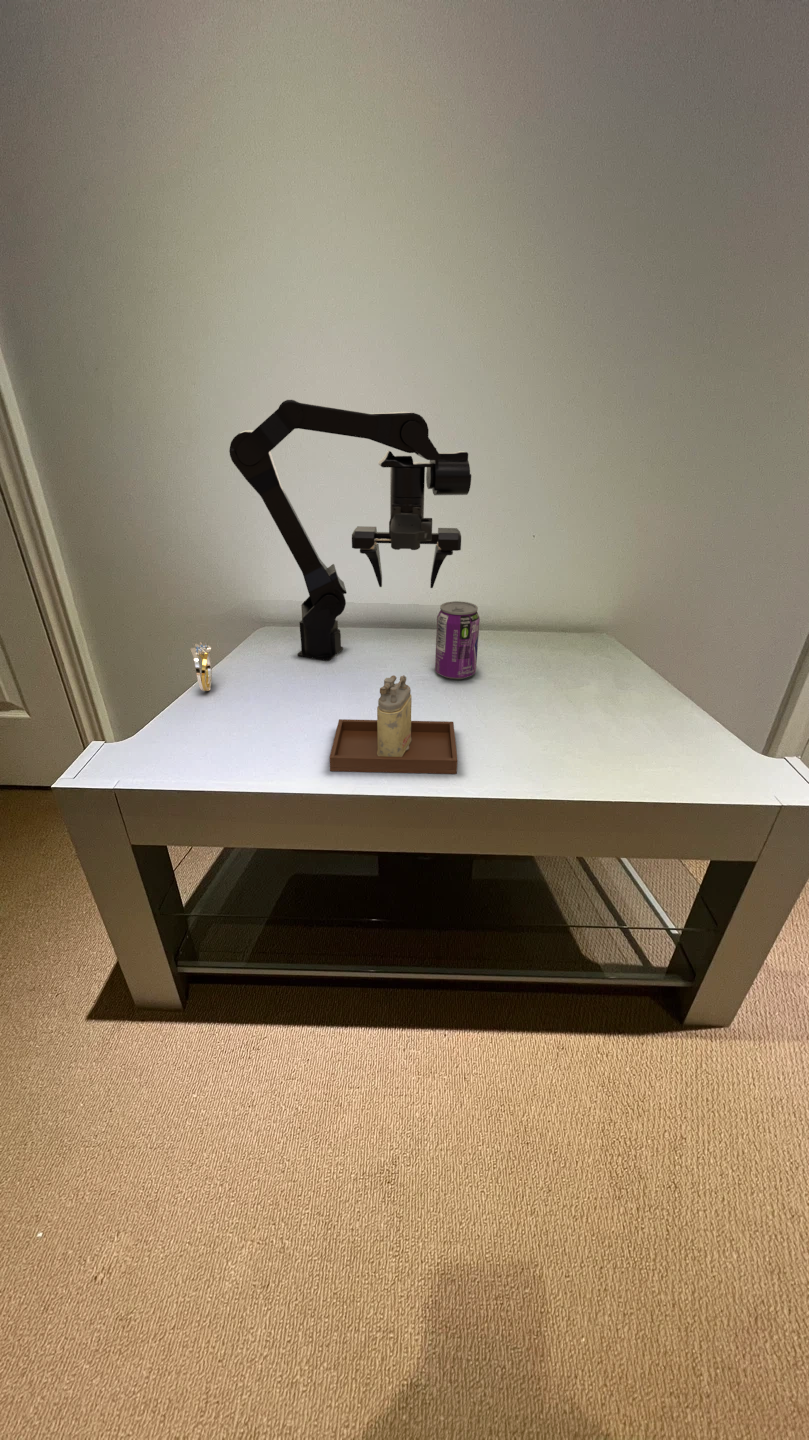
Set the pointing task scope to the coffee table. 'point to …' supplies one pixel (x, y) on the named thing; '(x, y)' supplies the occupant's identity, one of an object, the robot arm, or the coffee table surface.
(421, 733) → the tray
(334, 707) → the coffee table surface
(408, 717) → the worn yellow canister
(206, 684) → the ring
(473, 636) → the beverage can
